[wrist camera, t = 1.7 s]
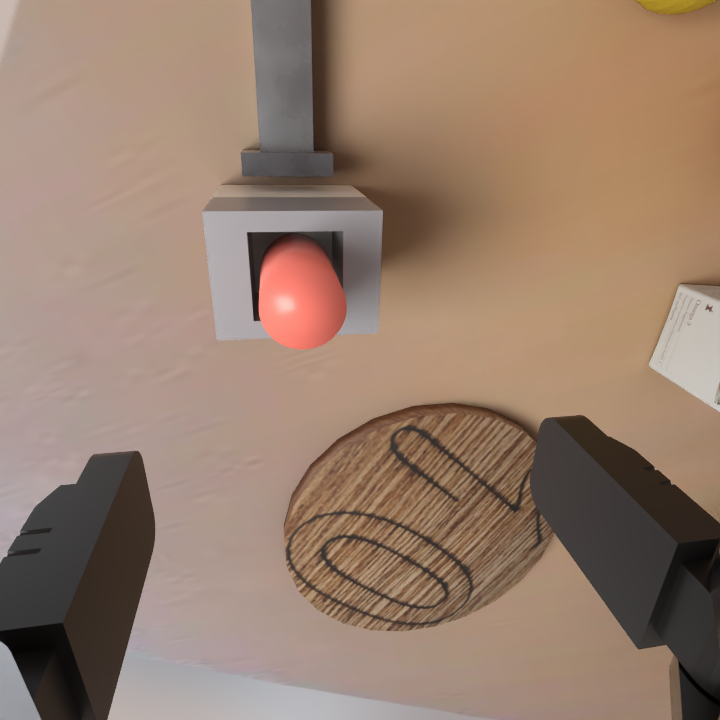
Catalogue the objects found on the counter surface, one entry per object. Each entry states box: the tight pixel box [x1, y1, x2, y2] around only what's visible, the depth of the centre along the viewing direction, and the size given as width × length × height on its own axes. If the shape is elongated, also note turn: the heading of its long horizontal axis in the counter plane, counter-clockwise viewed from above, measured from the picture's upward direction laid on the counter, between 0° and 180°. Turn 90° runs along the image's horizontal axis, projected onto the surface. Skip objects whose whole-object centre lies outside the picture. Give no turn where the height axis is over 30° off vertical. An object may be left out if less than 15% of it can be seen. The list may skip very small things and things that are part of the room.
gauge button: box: [259, 234, 347, 349], centre depth 22 cm, size 3×3×6 cm
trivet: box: [284, 403, 554, 631], centre depth 44 cm, size 25×25×2 cm
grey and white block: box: [202, 185, 383, 340], centre depth 27 cm, size 6×8×10 cm
